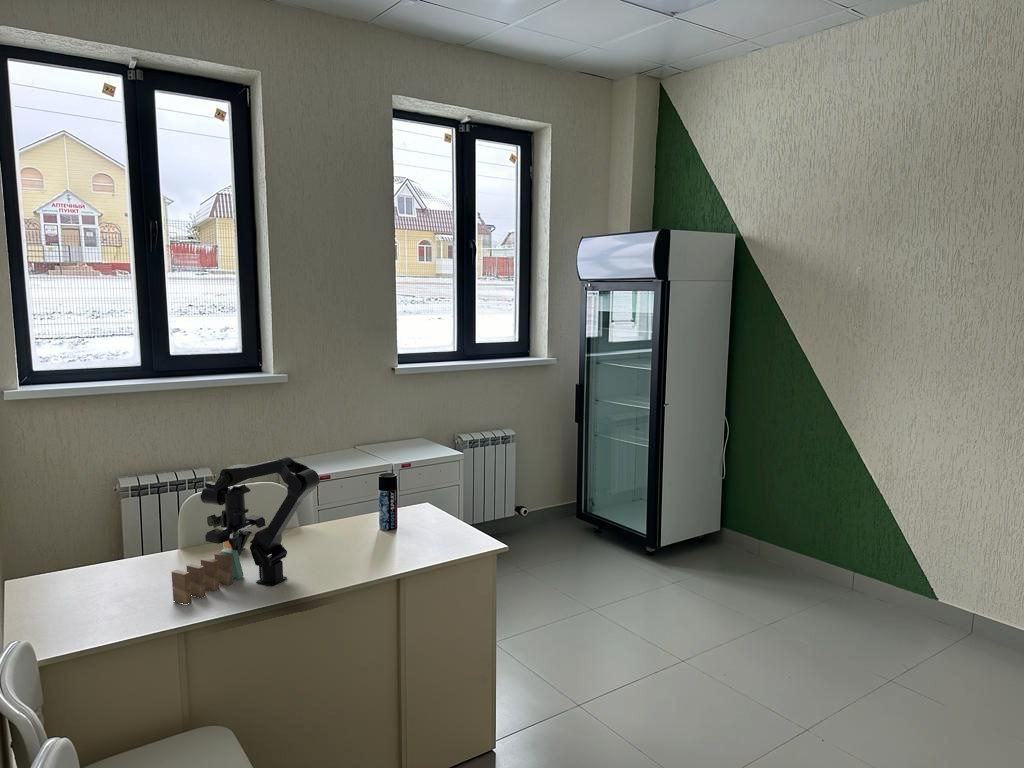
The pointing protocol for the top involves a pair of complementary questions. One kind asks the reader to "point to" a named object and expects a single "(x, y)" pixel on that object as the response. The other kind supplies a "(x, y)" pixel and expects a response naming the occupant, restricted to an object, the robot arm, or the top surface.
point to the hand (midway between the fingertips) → (237, 555)
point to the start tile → (234, 563)
